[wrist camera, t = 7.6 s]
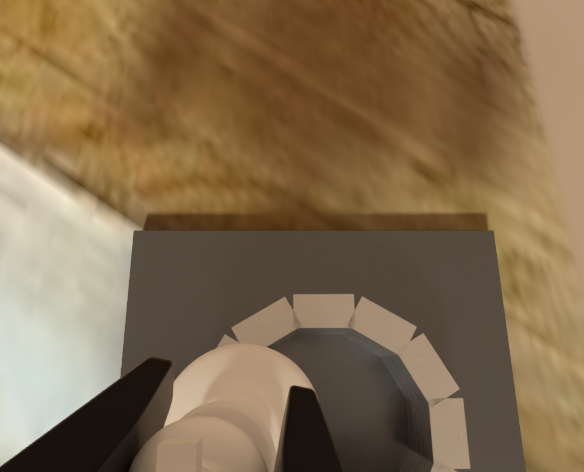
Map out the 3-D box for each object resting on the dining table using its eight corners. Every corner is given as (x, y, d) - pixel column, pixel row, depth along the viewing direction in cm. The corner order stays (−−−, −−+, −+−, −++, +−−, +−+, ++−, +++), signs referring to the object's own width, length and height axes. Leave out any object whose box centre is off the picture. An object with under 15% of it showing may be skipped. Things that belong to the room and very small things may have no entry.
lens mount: (536, 648, 17) (609, 728, 13) (103, 658, 17) (51, 744, 13) (484, 236, 22) (528, 208, 18) (140, 236, 21) (109, 207, 17)
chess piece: (319, 341, 15) (395, 284, 5) (327, 516, 13) (452, 890, 4) (163, 345, 15) (-63, 295, 5) (154, 523, 13) (-183, 934, 4)
